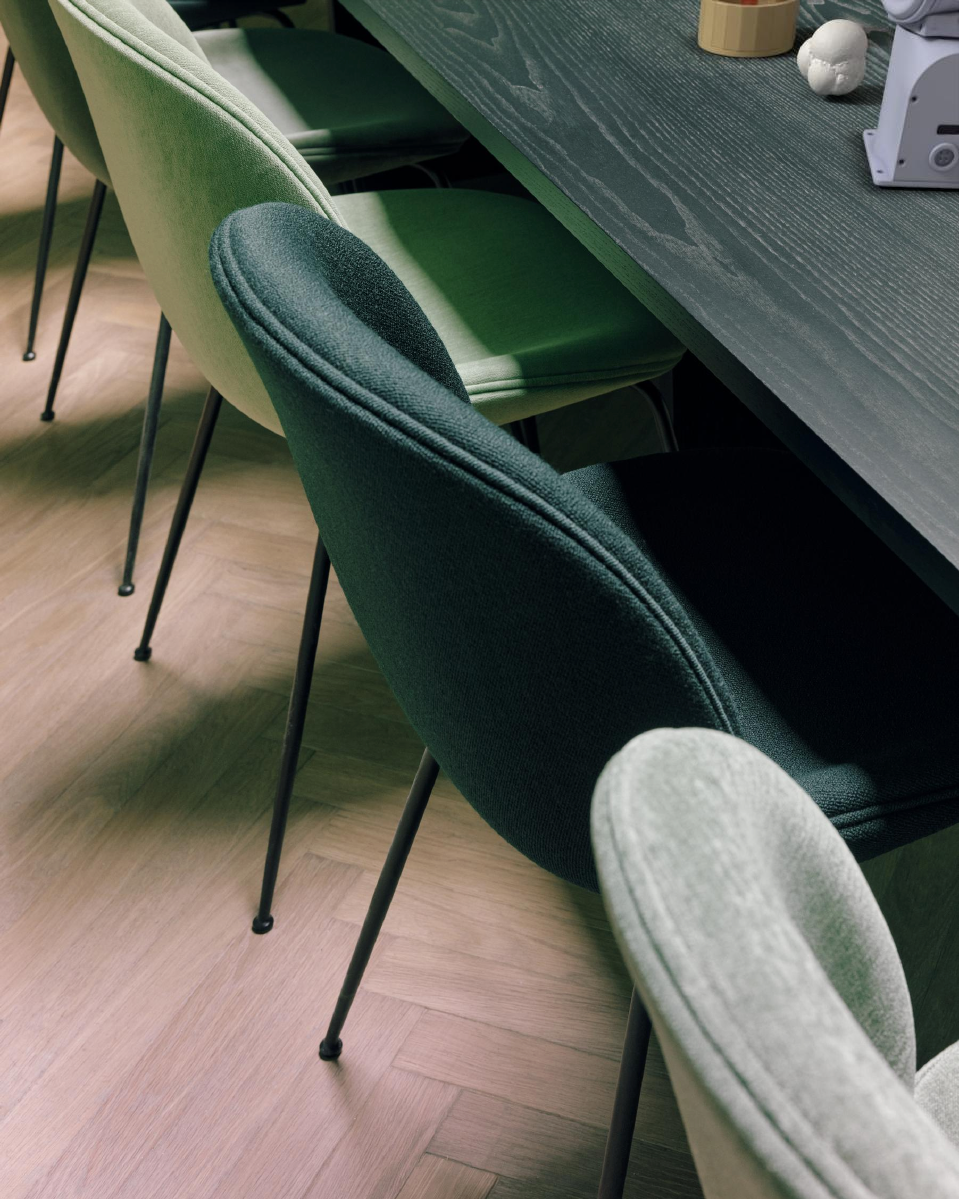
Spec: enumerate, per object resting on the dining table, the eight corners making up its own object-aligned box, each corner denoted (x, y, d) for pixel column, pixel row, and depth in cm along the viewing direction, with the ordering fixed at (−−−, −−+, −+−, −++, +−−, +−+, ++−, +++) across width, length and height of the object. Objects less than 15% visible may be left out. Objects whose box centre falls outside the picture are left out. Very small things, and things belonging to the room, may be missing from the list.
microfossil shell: (850, 109, 92) (863, 32, 88) (782, 100, 94) (792, 24, 90) (866, 91, 94) (879, 15, 91) (799, 82, 96) (810, 8, 93)
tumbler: (795, 58, 101) (802, 7, 98) (696, 56, 102) (700, 5, 100) (791, 29, 107) (798, -20, 105) (698, 28, 108) (702, -21, 106)
